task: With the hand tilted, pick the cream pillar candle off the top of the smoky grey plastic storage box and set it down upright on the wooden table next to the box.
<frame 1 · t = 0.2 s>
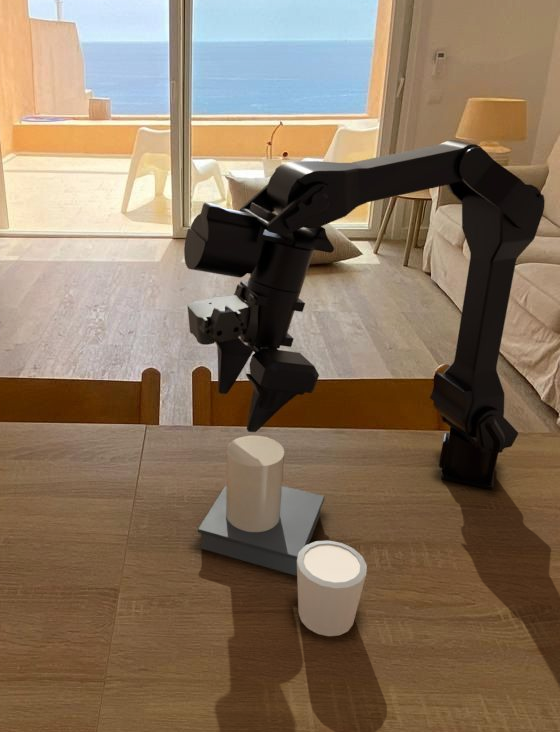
hand: (236, 411, 80), 15 cm above the table, tool pointing down, fingers open, 9 cm apart
shot glass: (325, 616, 72), on the table
cream pillar candle: (252, 514, 82), point 3 cm above the table, touching storage box
storage box: (262, 532, 84), on the table
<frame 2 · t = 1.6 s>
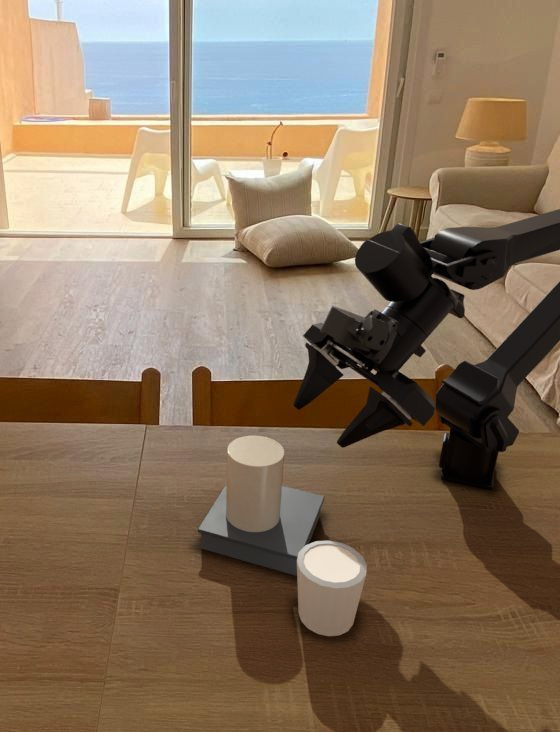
hand: (316, 425, 80), 13 cm above the table, tool tilted 45°, fingers open, 9 cm apart
nothing on the table moved.
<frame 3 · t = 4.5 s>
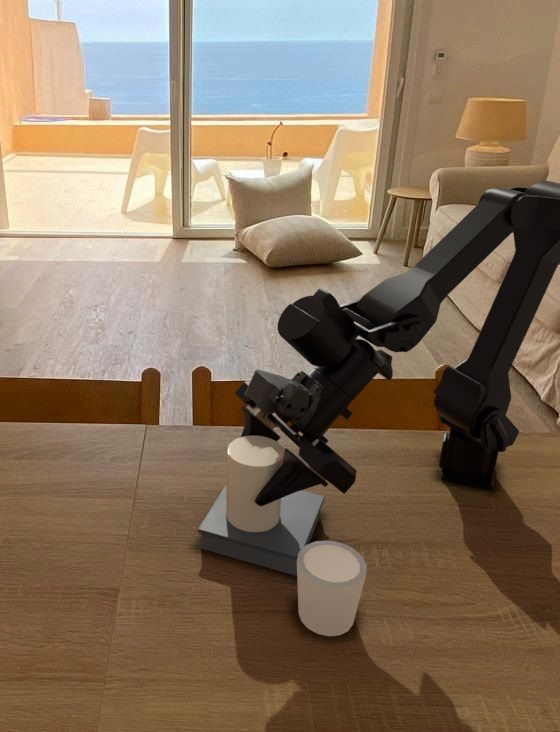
hand: (243, 487, 80), 7 cm above the table, tool tilted 45°, fingers closed on cream pillar candle, 6 cm apart
cream pillar candle: (252, 514, 82), point 3 cm above the table, touching gripper, storage box
everything else where it was.
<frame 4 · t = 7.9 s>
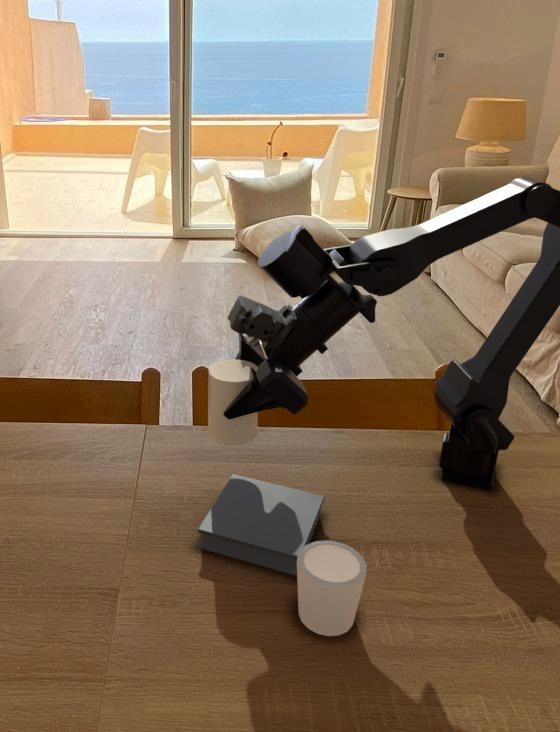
hand: (222, 403, 88), 12 cm above the table, tool tilted 45°, fingers closed on cream pillar candle, 6 cm apart
cream pillar candle: (232, 432, 90), point 8 cm above the table, touching gripper
everything else where it was.
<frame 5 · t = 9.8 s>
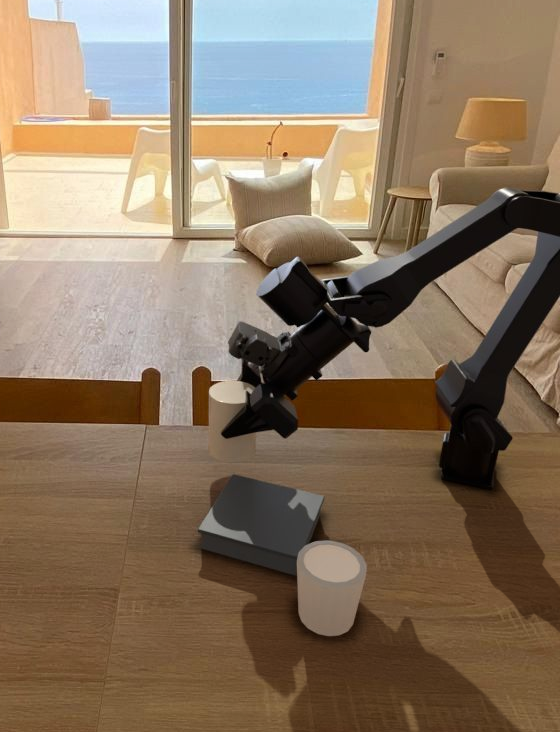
hand: (222, 422, 93), 7 cm above the table, tool tilted 45°, fingers closed on cream pillar candle, 6 cm apart
cream pillar candle: (231, 450, 95), point 3 cm above the table, touching gripper
everything else where it was.
when the fingers open (4 cm above the table, at t = 11.4 s): cream pillar candle stays where it is, on the table.
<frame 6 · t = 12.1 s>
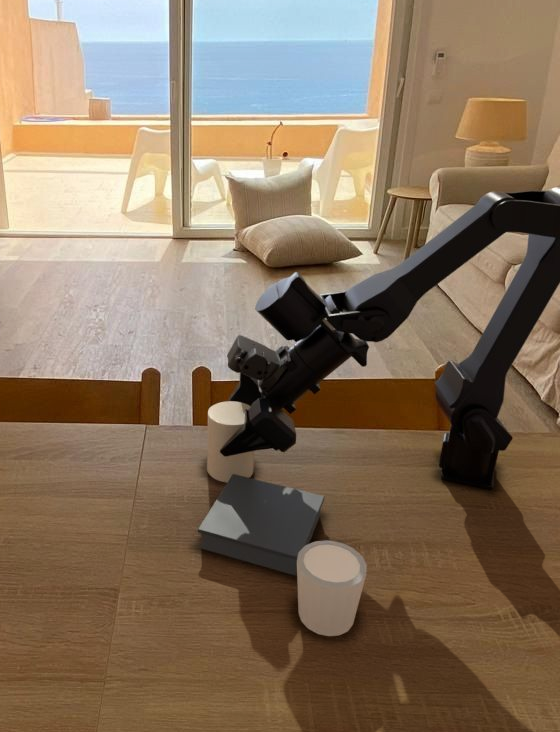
hand: (221, 435, 94), 6 cm above the table, tool tilted 45°, fingers open, 9 cm apart
cream pillar candle: (230, 469, 96), on the table
everything else where it was.
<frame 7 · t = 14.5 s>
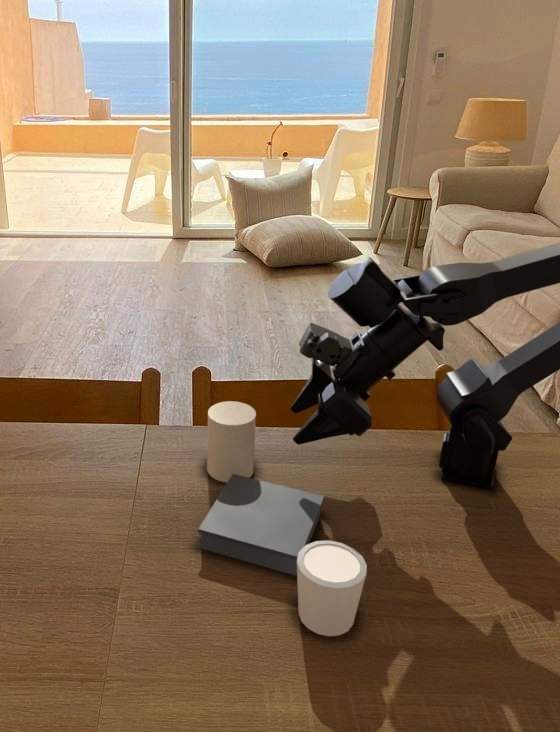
hand: (293, 425, 93), 7 cm above the table, tool tilted 40°, fingers open, 9 cm apart
nothing on the table moved.
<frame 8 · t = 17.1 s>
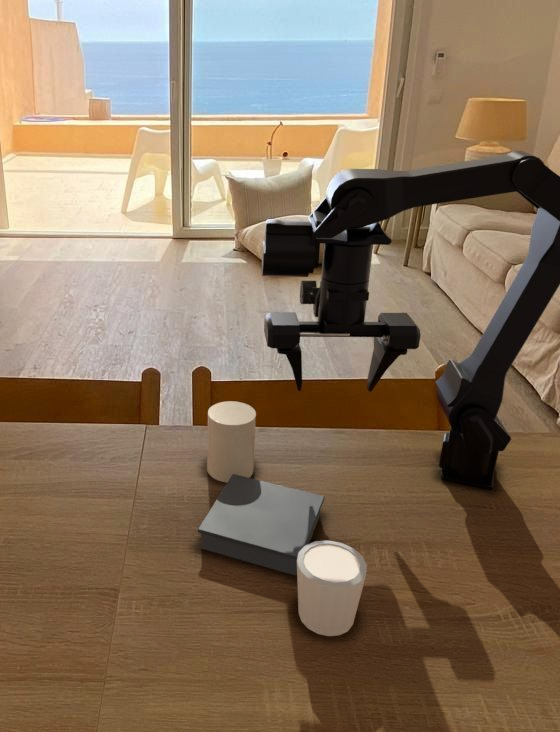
hand: (334, 389, 91), 12 cm above the table, tool pointing down, fingers open, 9 cm apart
nothing on the table moved.
at the end: cream pillar candle inside the target area (0.0 cm from its centre), on the table; cream pillar candle tilted 0°; cream pillar candle touching table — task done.
